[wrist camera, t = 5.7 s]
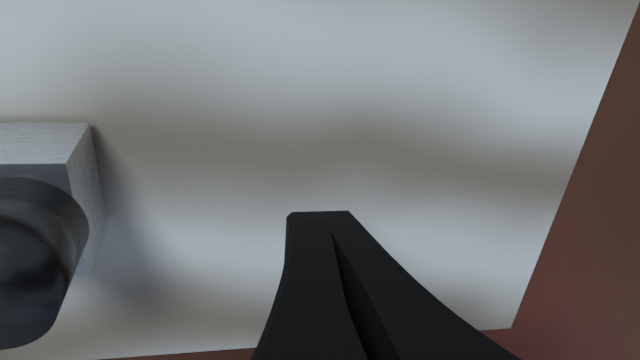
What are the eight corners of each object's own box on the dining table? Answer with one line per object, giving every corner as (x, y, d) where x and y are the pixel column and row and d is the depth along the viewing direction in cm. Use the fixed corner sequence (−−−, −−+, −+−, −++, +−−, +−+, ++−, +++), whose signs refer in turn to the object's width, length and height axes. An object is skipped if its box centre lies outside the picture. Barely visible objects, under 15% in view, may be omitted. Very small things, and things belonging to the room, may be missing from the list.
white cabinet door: (487, 290, 20) (574, 427, 15) (-228, 333, 16) (-446, 548, 11) (619, -98, 13) (870, -87, 8) (-623, -220, 9) (-1864, -373, 3)
